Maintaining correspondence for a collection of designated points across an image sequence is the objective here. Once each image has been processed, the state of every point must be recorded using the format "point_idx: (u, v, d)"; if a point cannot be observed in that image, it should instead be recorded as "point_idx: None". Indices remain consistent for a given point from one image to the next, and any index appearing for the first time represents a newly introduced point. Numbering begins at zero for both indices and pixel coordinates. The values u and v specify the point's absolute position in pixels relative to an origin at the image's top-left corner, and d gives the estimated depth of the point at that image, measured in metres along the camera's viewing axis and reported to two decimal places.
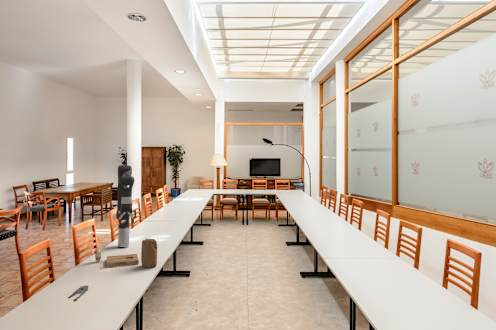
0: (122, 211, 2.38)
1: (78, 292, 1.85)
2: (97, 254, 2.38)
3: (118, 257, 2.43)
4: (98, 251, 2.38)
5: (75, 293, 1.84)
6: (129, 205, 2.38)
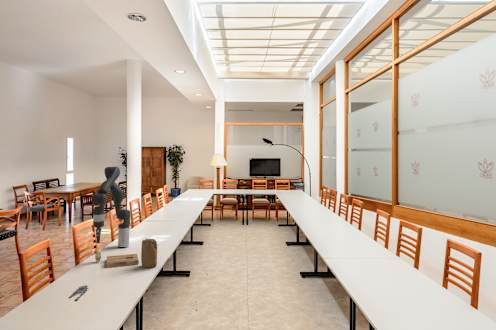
0: (100, 229, 2.37)
1: (78, 292, 1.85)
2: (97, 254, 2.38)
3: (118, 257, 2.43)
4: (98, 251, 2.38)
5: (75, 293, 1.83)
6: None
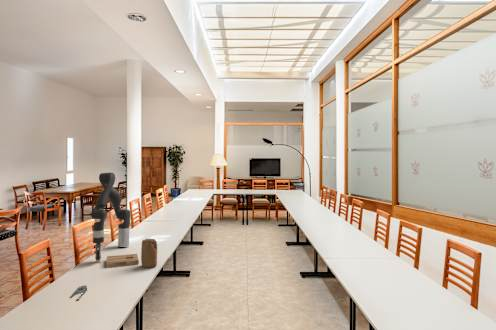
0: (99, 245, 2.37)
1: (78, 292, 1.85)
2: None
3: (118, 257, 2.43)
4: None
5: (75, 293, 1.83)
6: None
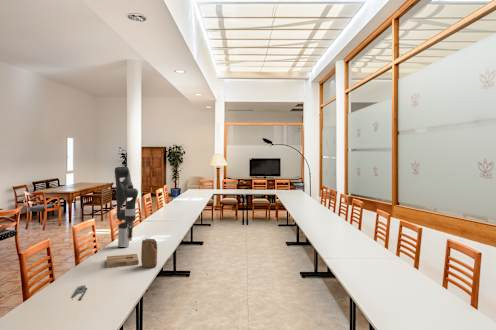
0: (131, 223, 2.40)
1: (78, 292, 1.85)
2: None
3: (118, 257, 2.43)
4: None
5: (76, 293, 1.83)
6: None
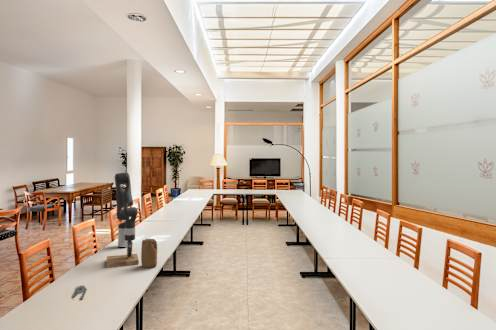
0: (131, 242, 2.40)
1: (78, 292, 1.85)
2: None
3: (118, 257, 2.43)
4: None
5: (76, 293, 1.83)
6: None
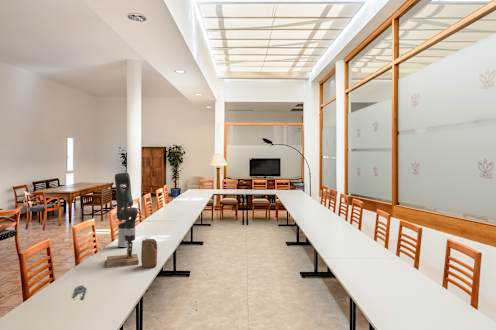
0: (131, 243, 2.40)
1: (78, 292, 1.85)
2: None
3: (118, 257, 2.43)
4: None
5: (76, 293, 1.83)
6: None
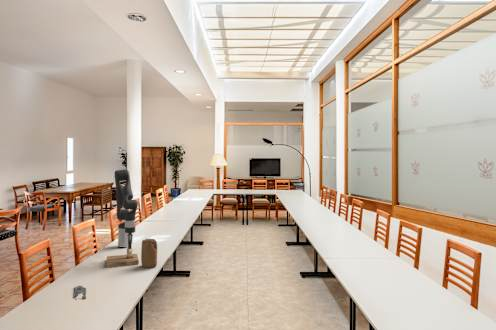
0: (131, 235, 2.40)
1: (79, 292, 1.85)
2: (129, 253, 2.41)
3: (118, 257, 2.43)
4: (130, 251, 2.41)
5: (76, 293, 1.83)
6: None
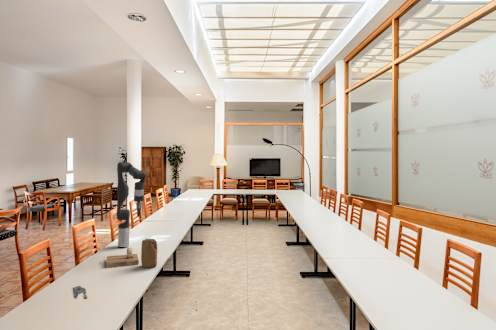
0: (140, 203, 2.56)
1: (79, 292, 1.85)
2: (129, 253, 2.41)
3: (118, 257, 2.43)
4: (130, 251, 2.41)
5: (77, 293, 1.83)
6: None
